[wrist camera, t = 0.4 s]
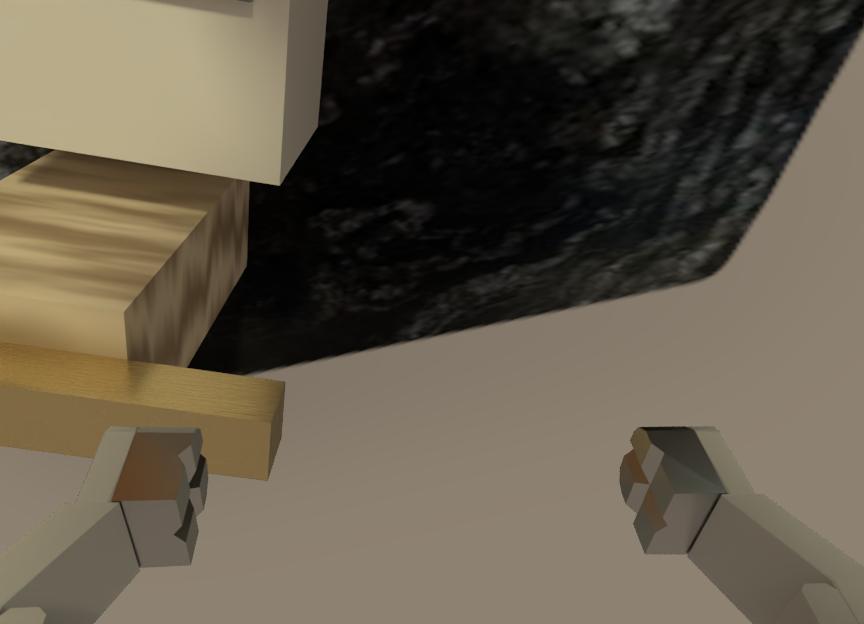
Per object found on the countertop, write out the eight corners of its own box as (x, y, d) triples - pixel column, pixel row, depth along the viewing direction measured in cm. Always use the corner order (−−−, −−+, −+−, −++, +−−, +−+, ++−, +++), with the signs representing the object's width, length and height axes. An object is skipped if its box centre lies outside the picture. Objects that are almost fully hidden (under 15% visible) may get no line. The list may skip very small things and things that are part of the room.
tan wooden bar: (-135, 322, 35) (-191, 359, 32) (285, 381, 36) (271, 422, 33) (-117, 383, 37) (-167, 424, 34) (281, 437, 38) (267, 480, 35)
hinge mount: (81, -112, 47) (-68, -131, 33) (333, -64, 48) (290, -63, 35) (97, 89, 54) (-21, 141, 40) (317, 126, 55) (276, 189, 41)
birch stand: (83, 134, 56) (-161, 270, 33) (250, 161, 57) (123, 312, 34) (93, 241, 61) (-113, 424, 38) (246, 265, 62) (134, 456, 39)
